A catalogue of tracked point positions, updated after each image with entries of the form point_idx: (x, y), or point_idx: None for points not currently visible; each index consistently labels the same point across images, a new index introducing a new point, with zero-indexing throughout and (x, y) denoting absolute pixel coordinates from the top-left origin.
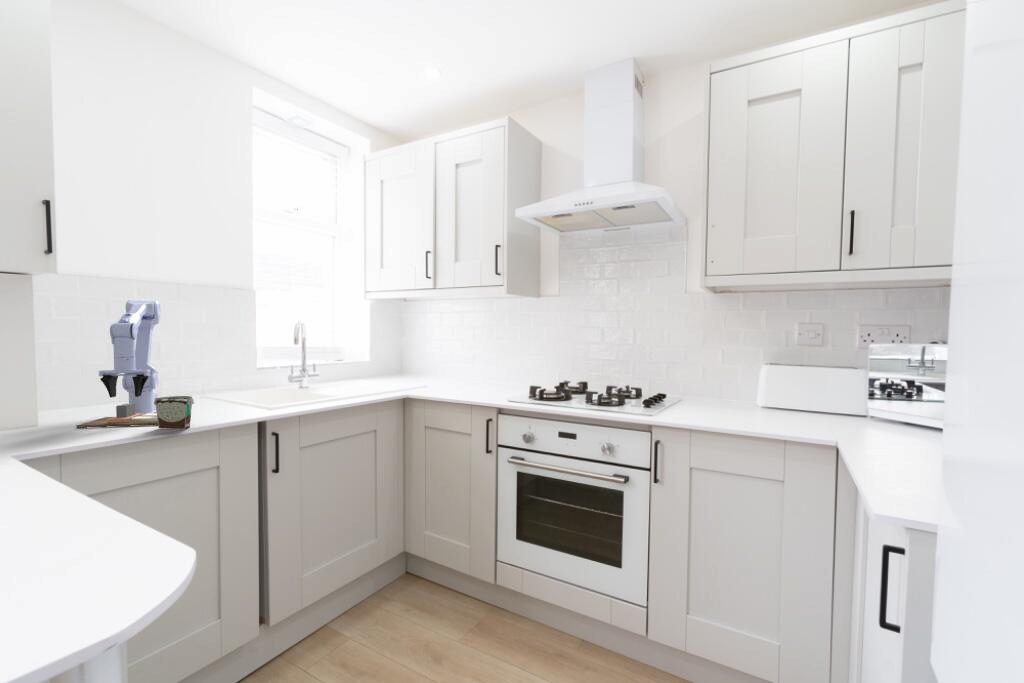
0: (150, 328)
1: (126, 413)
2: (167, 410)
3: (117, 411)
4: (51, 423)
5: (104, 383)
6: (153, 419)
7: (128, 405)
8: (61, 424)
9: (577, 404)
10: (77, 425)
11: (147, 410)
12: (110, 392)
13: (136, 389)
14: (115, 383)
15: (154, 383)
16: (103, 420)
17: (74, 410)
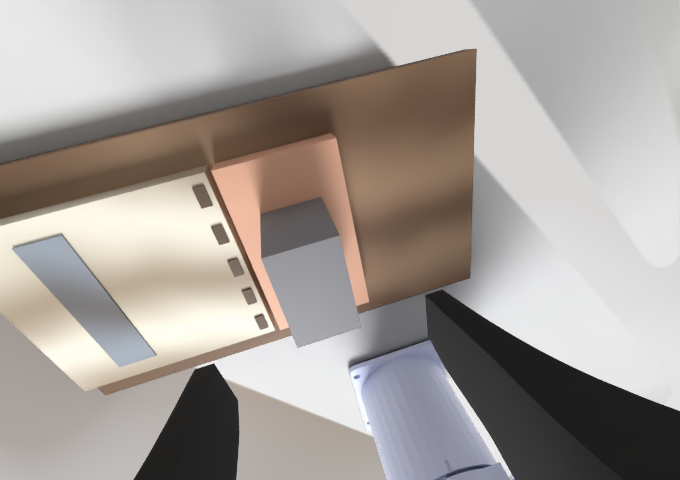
0: None
1: (261, 227)
2: None
3: (321, 217)
4: (643, 176)
5: (625, 399)
6: (19, 217)
7: (270, 281)
8: (595, 159)
9: None
10: (470, 50)
11: (367, 394)
12: (461, 323)
13: (160, 452)
14: (521, 478)
15: None
16: (419, 206)
17: (648, 363)
